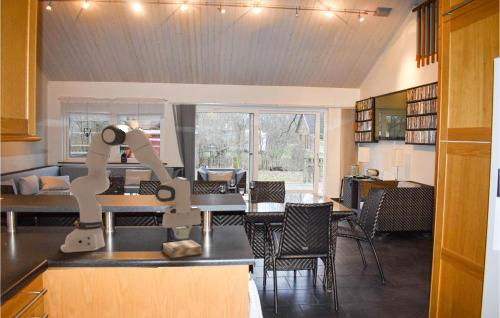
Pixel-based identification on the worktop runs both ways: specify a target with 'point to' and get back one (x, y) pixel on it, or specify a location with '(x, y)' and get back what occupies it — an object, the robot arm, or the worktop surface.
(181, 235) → the sage cube
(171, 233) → the small box
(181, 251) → the birch platform
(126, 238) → the worktop surface
